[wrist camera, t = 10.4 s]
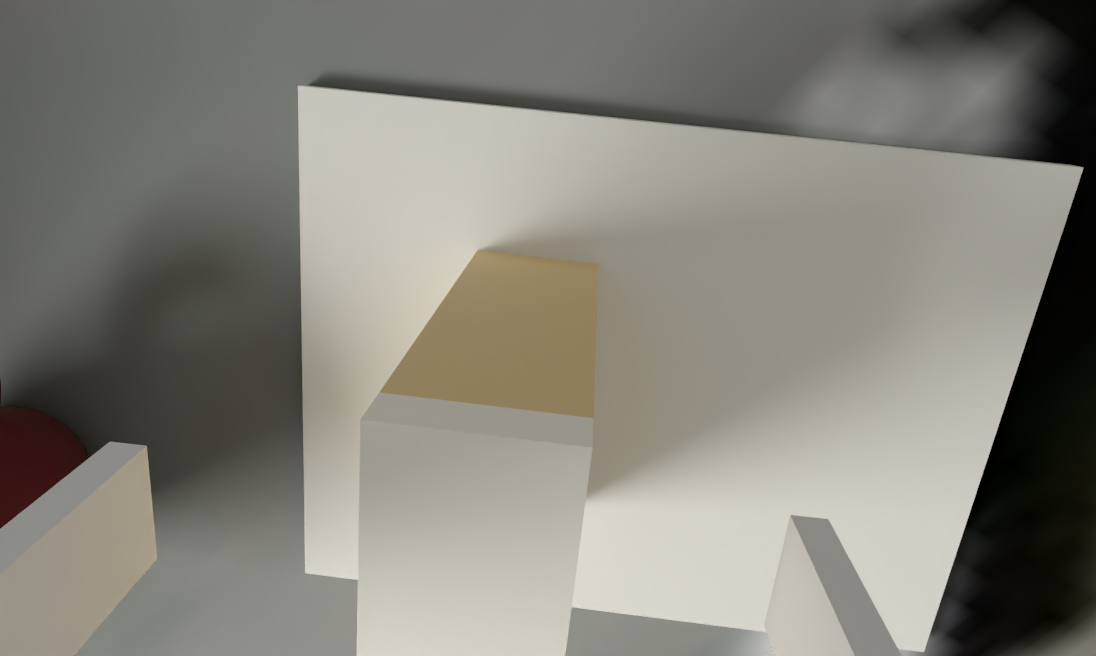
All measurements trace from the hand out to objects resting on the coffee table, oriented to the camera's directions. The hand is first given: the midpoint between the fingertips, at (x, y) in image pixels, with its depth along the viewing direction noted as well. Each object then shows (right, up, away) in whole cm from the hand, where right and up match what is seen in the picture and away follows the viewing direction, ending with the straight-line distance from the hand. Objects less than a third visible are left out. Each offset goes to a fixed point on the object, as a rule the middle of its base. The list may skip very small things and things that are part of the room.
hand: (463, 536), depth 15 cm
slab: (+1, +3, +7) cm, 8 cm away
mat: (+5, +2, +8) cm, 10 cm away
